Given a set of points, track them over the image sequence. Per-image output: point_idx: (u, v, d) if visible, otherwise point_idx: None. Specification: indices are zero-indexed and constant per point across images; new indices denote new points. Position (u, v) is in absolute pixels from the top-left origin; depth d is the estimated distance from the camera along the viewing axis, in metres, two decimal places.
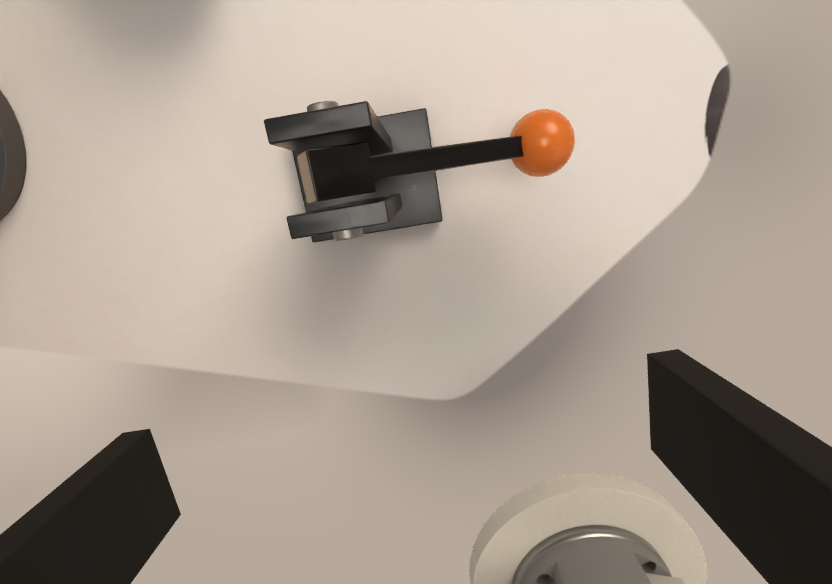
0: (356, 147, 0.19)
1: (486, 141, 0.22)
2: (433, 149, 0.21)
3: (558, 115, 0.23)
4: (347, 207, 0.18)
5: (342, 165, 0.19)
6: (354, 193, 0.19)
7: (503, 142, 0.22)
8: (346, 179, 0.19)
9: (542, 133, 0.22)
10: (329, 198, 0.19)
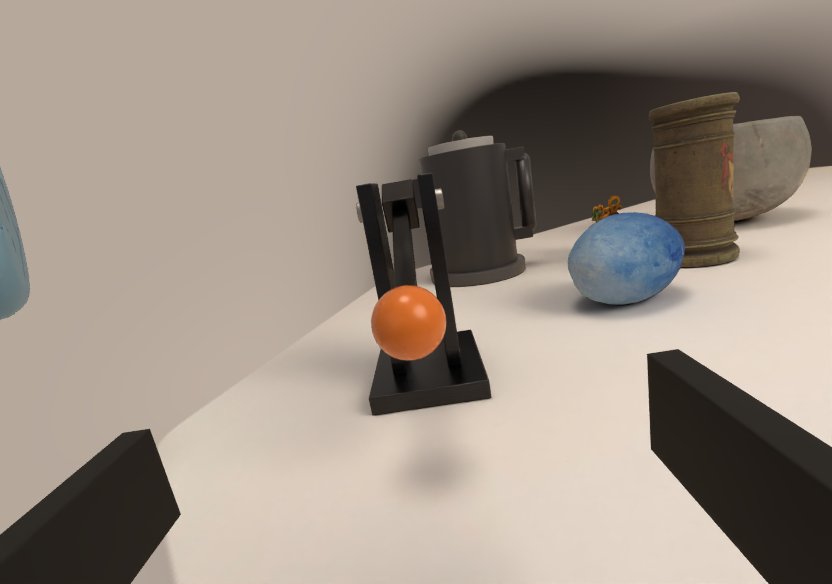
0: (411, 193, 0.28)
1: (412, 265, 0.23)
2: (409, 235, 0.26)
3: (431, 302, 0.19)
4: (373, 183, 0.29)
5: (400, 189, 0.29)
6: (382, 194, 0.29)
7: (409, 277, 0.22)
8: (391, 191, 0.29)
9: (411, 285, 0.20)
10: (382, 187, 0.30)
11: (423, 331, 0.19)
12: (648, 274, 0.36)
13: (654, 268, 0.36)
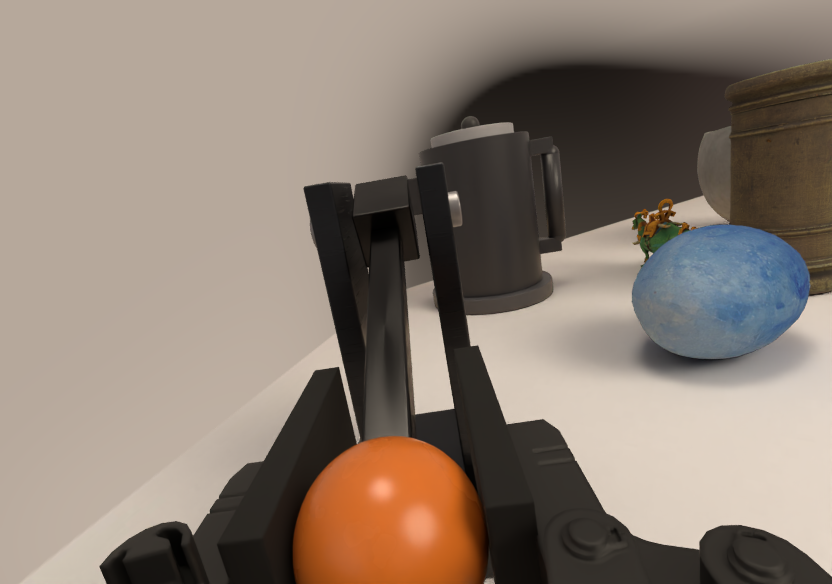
0: (404, 199, 0.16)
1: (404, 358, 0.11)
2: (399, 283, 0.13)
3: (453, 512, 0.07)
4: None
5: (387, 193, 0.17)
6: (354, 202, 0.16)
7: (398, 392, 0.10)
8: (370, 196, 0.16)
9: (399, 444, 0.08)
10: (355, 189, 0.17)
11: None
12: (768, 320, 0.24)
13: (776, 312, 0.24)
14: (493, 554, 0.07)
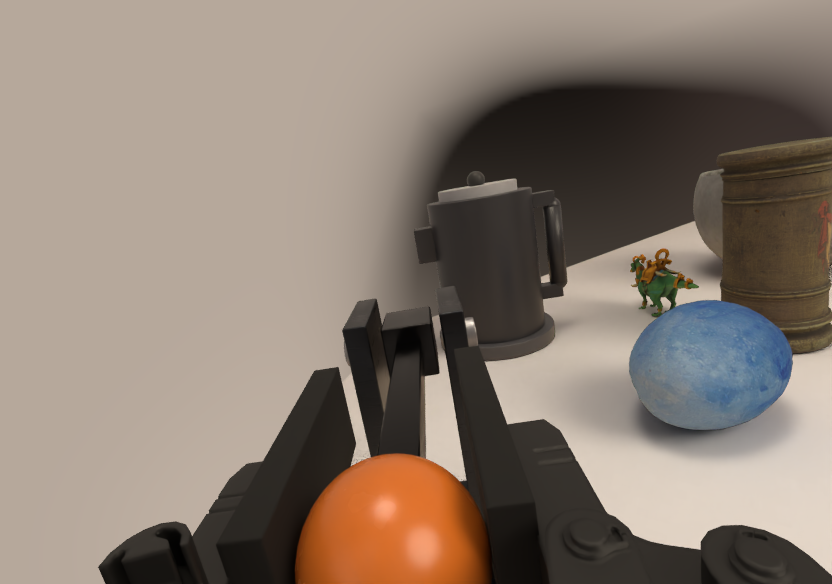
0: (426, 319, 0.19)
1: (417, 420, 0.12)
2: (417, 374, 0.15)
3: (452, 499, 0.07)
4: (369, 313, 0.19)
5: (411, 316, 0.19)
6: (384, 322, 0.19)
7: (410, 442, 0.11)
8: (398, 319, 0.19)
9: None
10: (385, 316, 0.20)
11: None
12: (753, 402, 0.26)
13: (760, 394, 0.26)
14: (494, 554, 0.07)
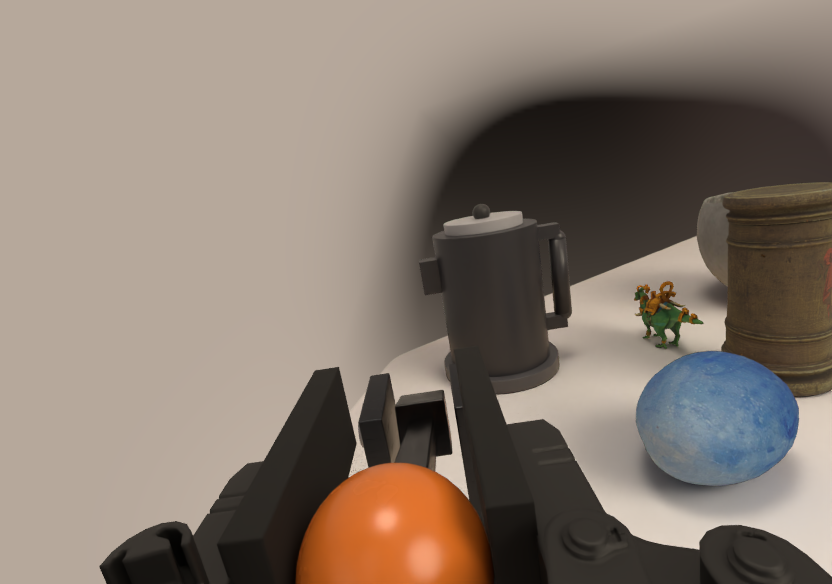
0: (439, 397, 0.19)
1: (425, 466, 0.12)
2: (428, 438, 0.15)
3: (452, 493, 0.08)
4: (383, 398, 0.19)
5: (425, 396, 0.20)
6: (398, 401, 0.20)
7: None
8: (412, 398, 0.20)
9: None
10: (400, 397, 0.21)
11: (424, 566, 0.06)
12: (760, 463, 0.26)
13: (767, 455, 0.26)
14: (493, 554, 0.07)
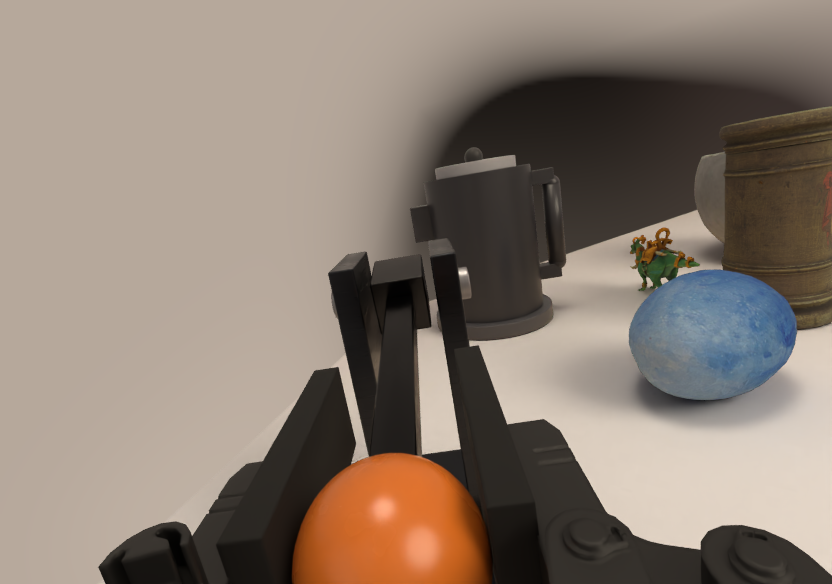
0: (417, 271, 0.17)
1: (412, 396, 0.11)
2: (410, 338, 0.14)
3: (454, 514, 0.07)
4: (357, 261, 0.18)
5: (402, 267, 0.18)
6: (373, 274, 0.18)
7: (405, 424, 0.10)
8: (387, 270, 0.18)
9: (403, 455, 0.08)
10: (374, 265, 0.19)
11: None
12: (756, 368, 0.25)
13: (764, 360, 0.25)
14: (494, 554, 0.07)
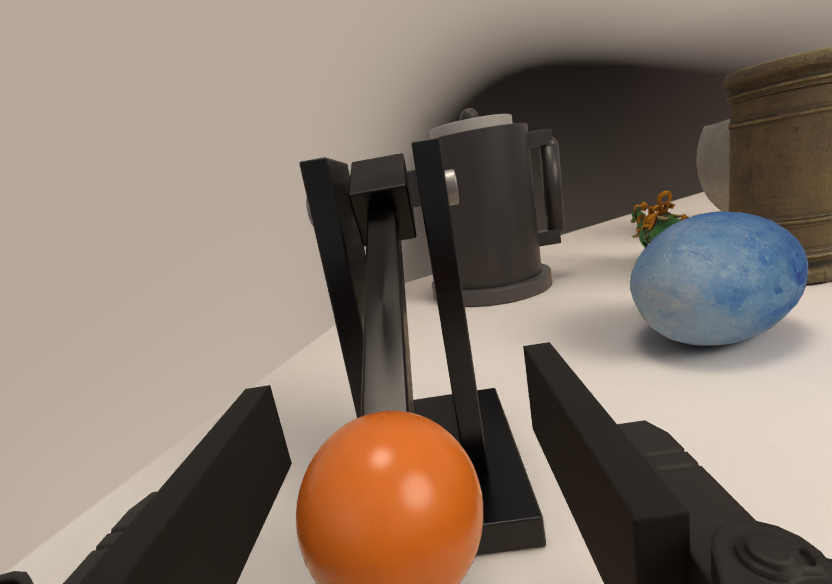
0: (400, 178, 0.16)
1: (401, 336, 0.11)
2: (396, 262, 0.13)
3: (450, 482, 0.07)
4: None
5: (383, 171, 0.16)
6: (351, 180, 0.16)
7: (395, 369, 0.10)
8: (367, 175, 0.16)
9: (397, 418, 0.08)
10: (351, 168, 0.17)
11: (428, 578, 0.07)
12: (766, 305, 0.24)
13: (774, 296, 0.24)
14: (638, 571, 0.06)
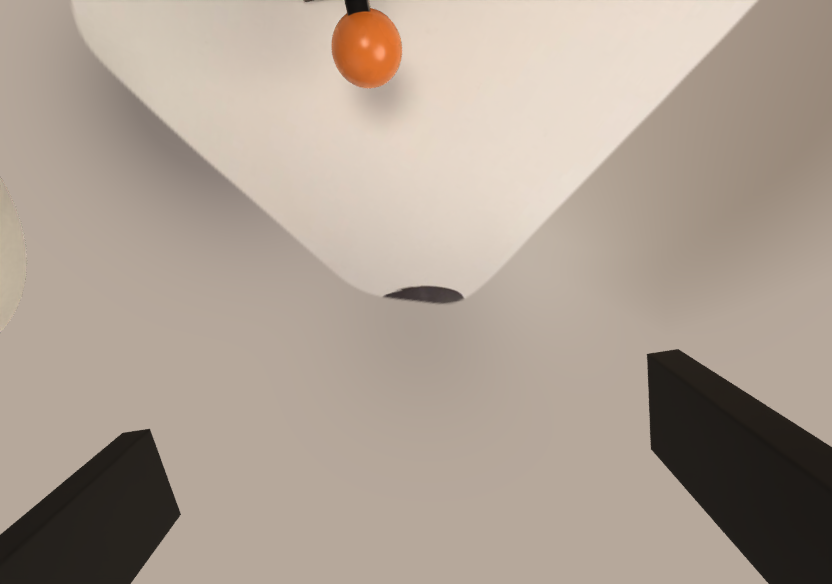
0: None
1: None
2: None
3: (392, 56, 0.21)
4: None
5: None
6: None
7: None
8: None
9: (370, 30, 0.20)
10: None
11: (386, 81, 0.22)
12: None
13: None
14: None
